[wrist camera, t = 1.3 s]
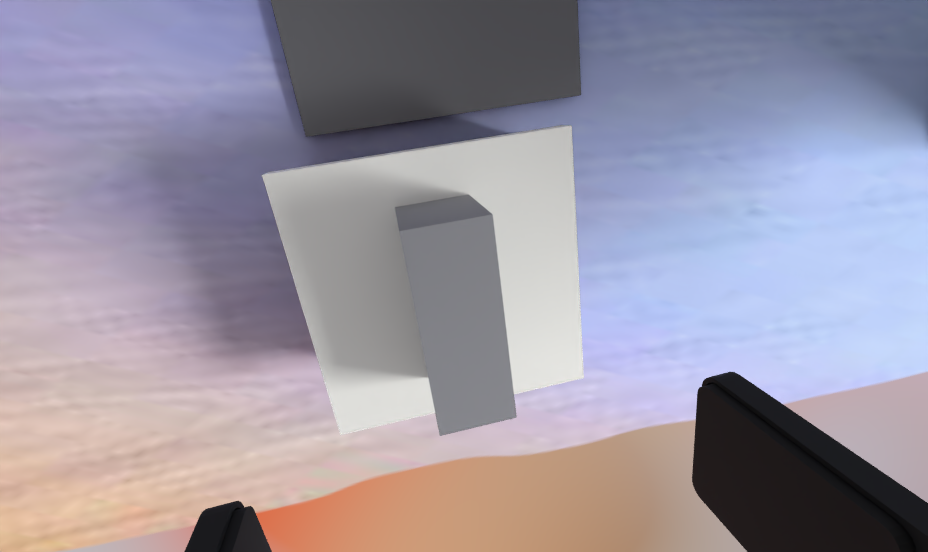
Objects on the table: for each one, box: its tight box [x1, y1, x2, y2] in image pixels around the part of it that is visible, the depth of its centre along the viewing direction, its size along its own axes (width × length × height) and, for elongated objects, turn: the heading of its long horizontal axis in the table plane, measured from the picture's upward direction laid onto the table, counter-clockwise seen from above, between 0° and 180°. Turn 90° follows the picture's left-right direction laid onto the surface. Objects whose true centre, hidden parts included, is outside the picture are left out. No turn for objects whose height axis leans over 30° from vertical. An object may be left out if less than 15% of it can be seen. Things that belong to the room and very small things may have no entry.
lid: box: [262, 125, 584, 436], centre depth 17 cm, size 12×12×5 cm
